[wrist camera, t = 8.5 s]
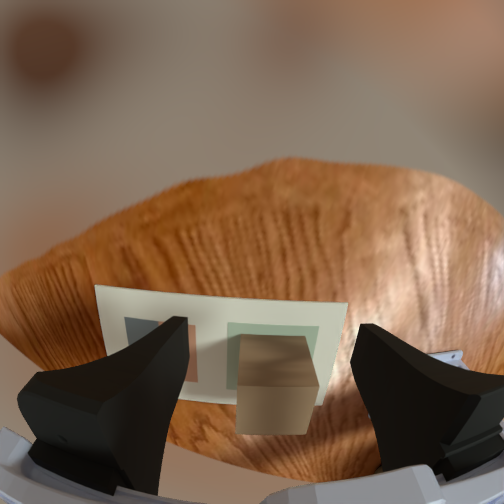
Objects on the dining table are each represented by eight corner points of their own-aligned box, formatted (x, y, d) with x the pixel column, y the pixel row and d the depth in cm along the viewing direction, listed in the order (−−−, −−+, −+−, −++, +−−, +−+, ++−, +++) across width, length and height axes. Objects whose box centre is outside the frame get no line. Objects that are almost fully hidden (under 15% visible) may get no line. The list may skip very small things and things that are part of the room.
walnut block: (305, 335, 22) (319, 386, 16) (296, 382, 23) (305, 434, 17) (240, 333, 22) (237, 385, 16) (238, 381, 23) (235, 434, 17)
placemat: (347, 302, 21) (348, 303, 21) (321, 403, 24) (322, 405, 24) (95, 284, 21) (94, 285, 21) (116, 386, 24) (115, 387, 24)
